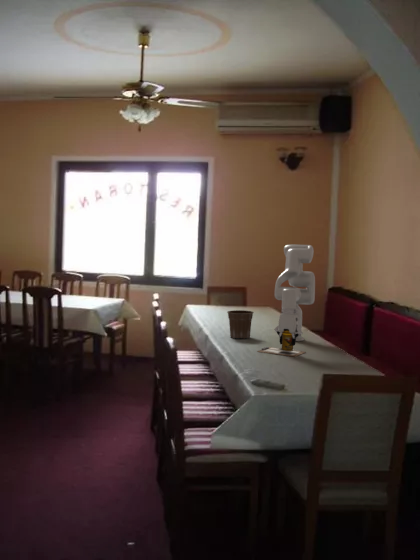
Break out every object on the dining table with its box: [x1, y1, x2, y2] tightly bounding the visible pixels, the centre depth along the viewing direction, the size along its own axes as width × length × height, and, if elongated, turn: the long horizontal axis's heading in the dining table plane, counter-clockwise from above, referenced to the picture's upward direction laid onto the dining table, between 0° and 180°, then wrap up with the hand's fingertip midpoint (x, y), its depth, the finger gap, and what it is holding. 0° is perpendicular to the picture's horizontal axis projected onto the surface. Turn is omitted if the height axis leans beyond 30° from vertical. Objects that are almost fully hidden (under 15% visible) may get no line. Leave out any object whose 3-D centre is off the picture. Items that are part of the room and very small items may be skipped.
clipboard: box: [257, 346, 307, 358], centre depth 311 cm, size 15×22×1 cm
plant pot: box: [226, 309, 254, 340], centre depth 354 cm, size 16×16×16 cm
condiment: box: [277, 329, 297, 352], centre depth 308 cm, size 7×8×12 cm
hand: (287, 344), depth 308 cm, fingers closed on condiment, 6 cm apart
